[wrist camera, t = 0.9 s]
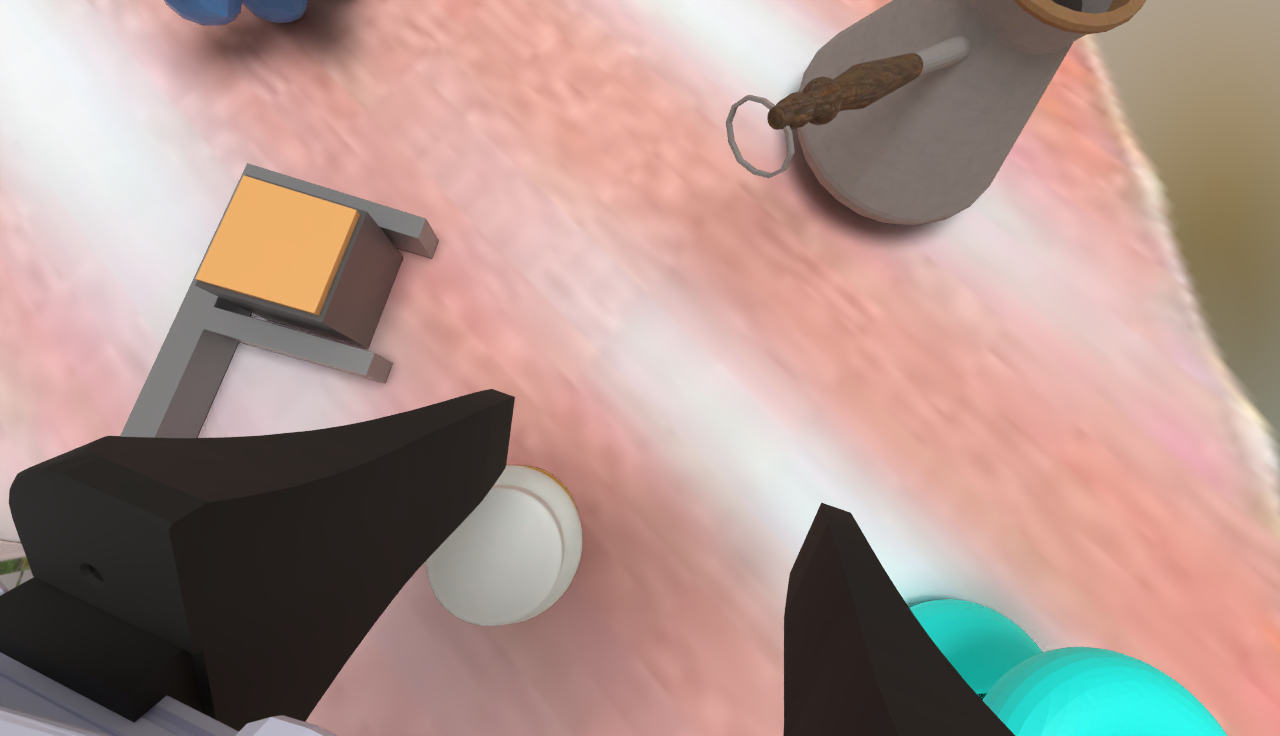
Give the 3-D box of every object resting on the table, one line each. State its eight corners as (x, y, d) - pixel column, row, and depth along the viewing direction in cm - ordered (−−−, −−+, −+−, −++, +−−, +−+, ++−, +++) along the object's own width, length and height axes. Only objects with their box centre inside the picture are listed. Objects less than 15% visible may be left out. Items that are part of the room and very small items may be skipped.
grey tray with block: (281, 661, 23) (197, 720, 18) (85, 615, 23) (-60, 662, 17) (438, 240, 27) (408, 187, 22) (276, 191, 27) (204, 123, 21)
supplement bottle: (573, 585, 25) (577, 658, 16) (454, 580, 25) (386, 653, 15) (583, 468, 26) (593, 471, 17) (469, 460, 26) (413, 459, 16)
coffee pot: (880, 30, 33) (1131, -314, 18) (1000, 179, 32) (1359, -55, 18) (594, 209, 29) (625, -54, 14) (726, 386, 28) (902, 304, 13)
